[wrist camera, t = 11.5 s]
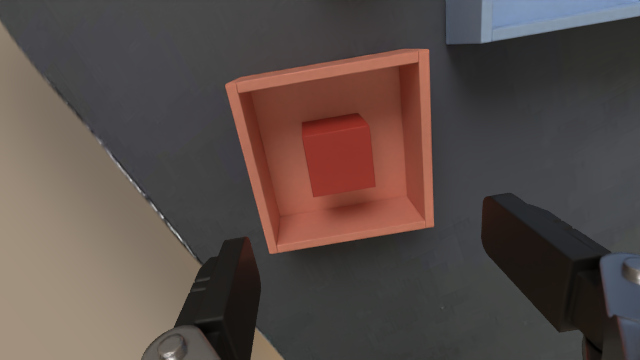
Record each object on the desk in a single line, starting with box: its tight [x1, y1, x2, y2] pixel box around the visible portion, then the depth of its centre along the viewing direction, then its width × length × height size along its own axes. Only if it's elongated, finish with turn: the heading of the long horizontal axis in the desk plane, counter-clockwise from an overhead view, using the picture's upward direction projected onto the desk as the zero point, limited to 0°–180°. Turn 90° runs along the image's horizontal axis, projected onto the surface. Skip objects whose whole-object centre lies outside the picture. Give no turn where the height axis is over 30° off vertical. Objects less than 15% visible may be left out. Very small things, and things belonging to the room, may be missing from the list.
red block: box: [302, 113, 376, 197], centre depth 21 cm, size 4×4×4 cm
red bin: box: [225, 49, 434, 254], centre depth 22 cm, size 11×11×5 cm
